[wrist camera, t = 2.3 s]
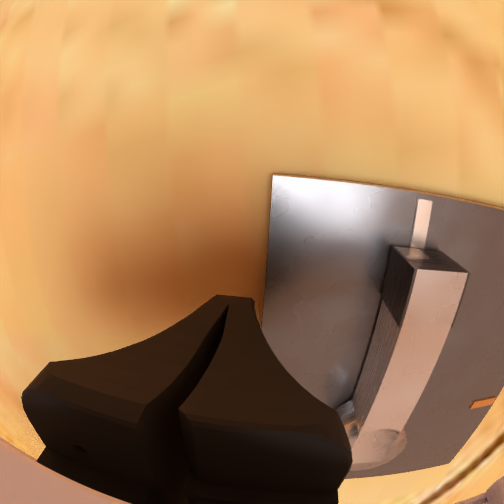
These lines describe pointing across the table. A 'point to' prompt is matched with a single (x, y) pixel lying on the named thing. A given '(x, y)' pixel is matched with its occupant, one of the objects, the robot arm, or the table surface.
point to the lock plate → (369, 299)
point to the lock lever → (402, 351)
